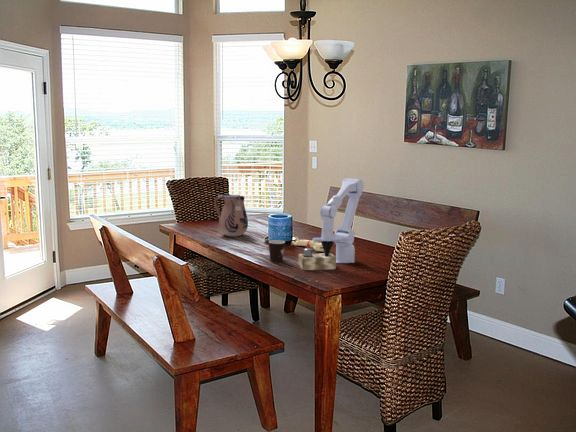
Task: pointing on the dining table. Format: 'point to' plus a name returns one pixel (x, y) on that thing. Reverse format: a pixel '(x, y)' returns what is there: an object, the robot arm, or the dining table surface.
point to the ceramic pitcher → (232, 215)
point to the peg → (308, 252)
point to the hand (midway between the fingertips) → (326, 255)
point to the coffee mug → (276, 250)
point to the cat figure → (308, 243)
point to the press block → (317, 262)
